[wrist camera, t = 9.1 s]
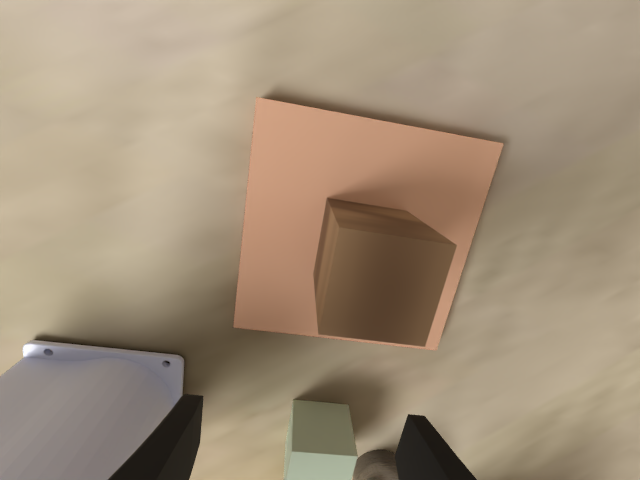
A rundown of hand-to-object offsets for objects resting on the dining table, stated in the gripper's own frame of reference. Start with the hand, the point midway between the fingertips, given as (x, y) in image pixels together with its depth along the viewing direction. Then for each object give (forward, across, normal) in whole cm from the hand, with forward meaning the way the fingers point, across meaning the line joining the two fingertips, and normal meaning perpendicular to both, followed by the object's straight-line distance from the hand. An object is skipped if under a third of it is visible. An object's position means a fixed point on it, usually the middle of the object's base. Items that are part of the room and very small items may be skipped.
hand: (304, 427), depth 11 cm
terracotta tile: (+9, -2, -4) cm, 11 cm away
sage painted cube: (+10, -2, +10) cm, 14 cm away
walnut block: (+8, -2, -4) cm, 10 cm away
